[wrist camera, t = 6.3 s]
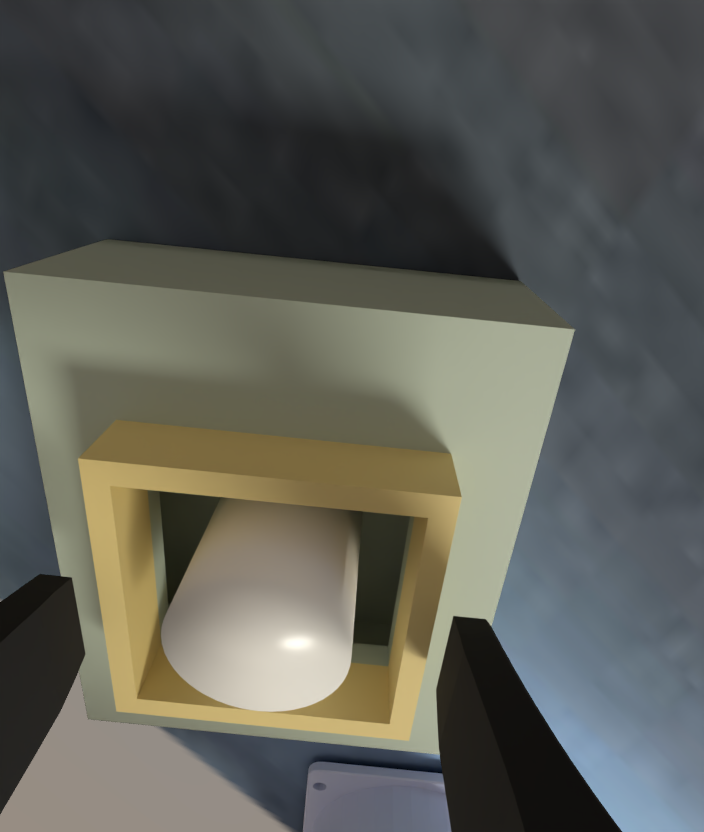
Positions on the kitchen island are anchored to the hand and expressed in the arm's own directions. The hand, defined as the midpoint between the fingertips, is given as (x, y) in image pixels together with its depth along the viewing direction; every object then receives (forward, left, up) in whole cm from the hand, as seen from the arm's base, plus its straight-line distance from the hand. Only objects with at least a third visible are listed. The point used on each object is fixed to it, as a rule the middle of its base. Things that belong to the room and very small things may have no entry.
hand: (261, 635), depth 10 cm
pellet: (0, 0, -5) cm, 5 cm away
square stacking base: (0, 0, -6) cm, 6 cm away
